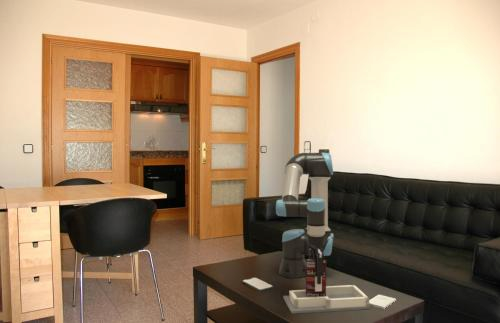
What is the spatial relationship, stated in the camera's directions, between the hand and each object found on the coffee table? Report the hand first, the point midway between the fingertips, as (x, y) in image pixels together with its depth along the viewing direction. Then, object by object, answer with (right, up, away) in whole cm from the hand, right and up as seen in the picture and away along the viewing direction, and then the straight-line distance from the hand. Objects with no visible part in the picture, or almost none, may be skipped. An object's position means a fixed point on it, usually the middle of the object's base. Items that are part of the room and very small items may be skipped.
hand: (316, 288), depth 171 cm
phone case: (-25, -7, +24) cm, 35 cm away
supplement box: (0, -4, 0) cm, 4 cm away
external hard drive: (+28, -7, +1) cm, 29 cm away
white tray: (+3, -7, +1) cm, 7 cm away
